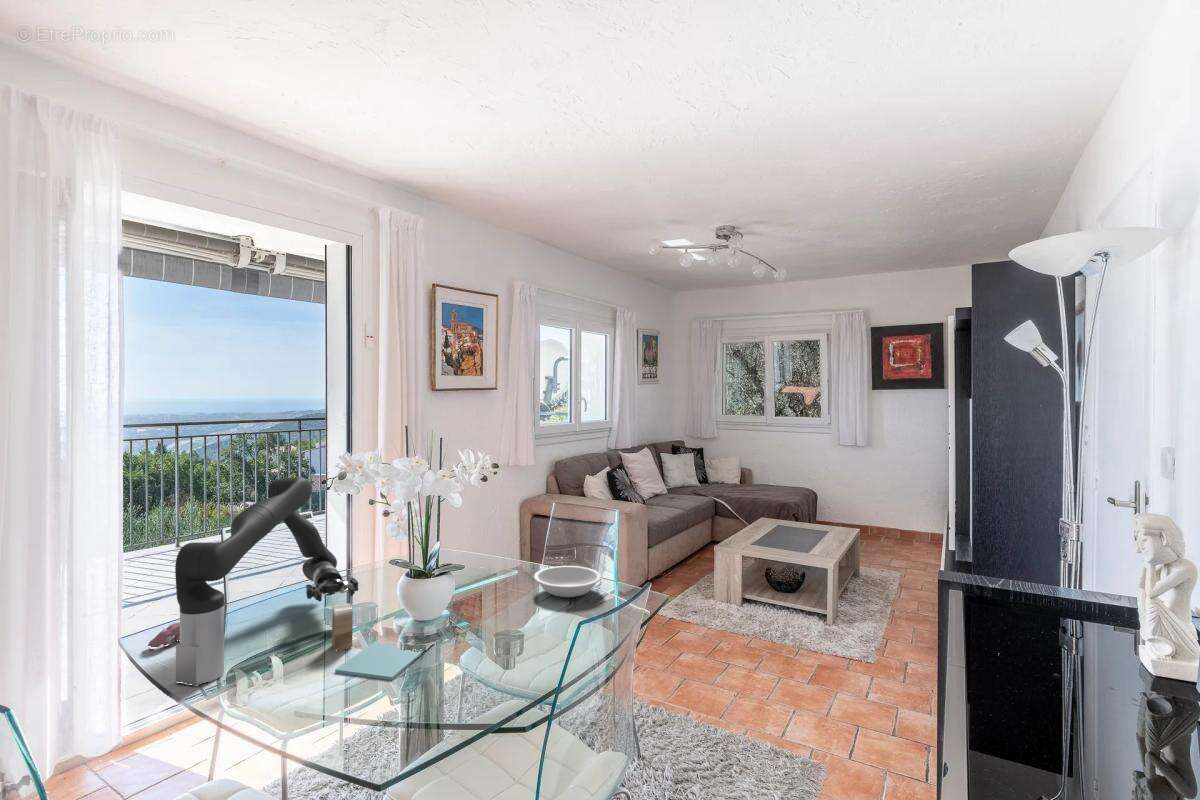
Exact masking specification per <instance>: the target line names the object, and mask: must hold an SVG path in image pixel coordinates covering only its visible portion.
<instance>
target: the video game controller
mask: <svg viewBox="0 0 1200 800" xmlns="http://www.w3.org/2000/svg"><path fill="white" fill-rule="evenodd" d="M177 640H180V621H179V622H174V623H171V624H170V625H168V626H167V627H166V628H163V629H162V630H161V631H160V632H158V634H157V635H156V636H155V637H153V638H152V639H151V640H149V642H148V645H147V647H148V646H151V647H158V648H159V647H160V646H162V645H163V646H164V645H167V644H170V643H172V644H173V642H175V641H177Z"/></svg>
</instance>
